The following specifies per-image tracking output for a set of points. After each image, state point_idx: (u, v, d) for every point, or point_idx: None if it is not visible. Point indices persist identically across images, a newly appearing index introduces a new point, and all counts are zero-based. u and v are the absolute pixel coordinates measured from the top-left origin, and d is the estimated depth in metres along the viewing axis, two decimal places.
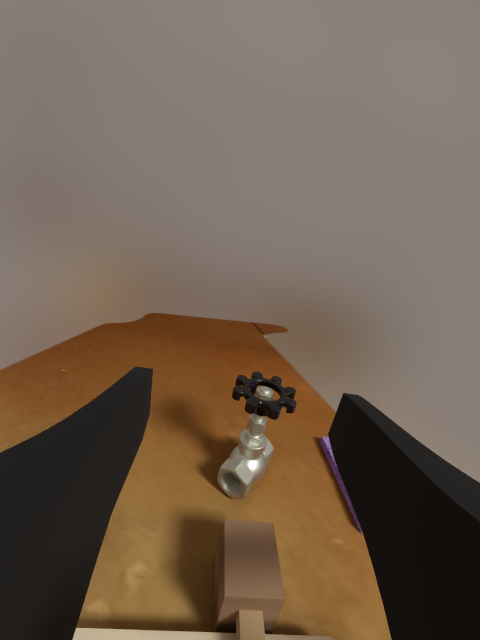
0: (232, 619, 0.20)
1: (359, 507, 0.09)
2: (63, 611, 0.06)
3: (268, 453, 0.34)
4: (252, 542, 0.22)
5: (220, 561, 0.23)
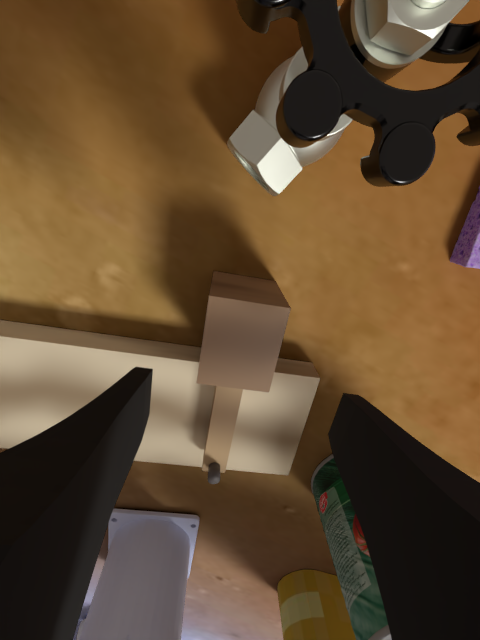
0: None
1: (359, 507, 0.09)
2: (63, 611, 0.06)
3: None
4: (247, 332, 0.15)
5: None
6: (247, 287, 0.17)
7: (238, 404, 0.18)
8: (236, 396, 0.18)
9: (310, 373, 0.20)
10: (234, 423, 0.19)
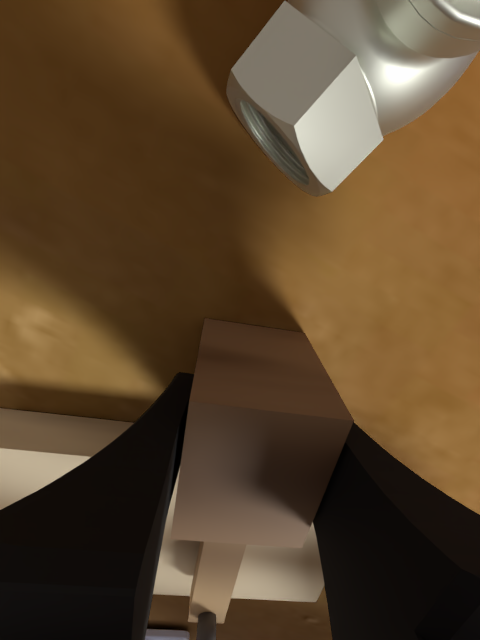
0: None
1: None
2: (146, 615, 0.06)
3: None
4: (266, 460, 0.08)
5: None
6: (263, 357, 0.09)
7: None
8: None
9: None
10: (238, 564, 0.12)
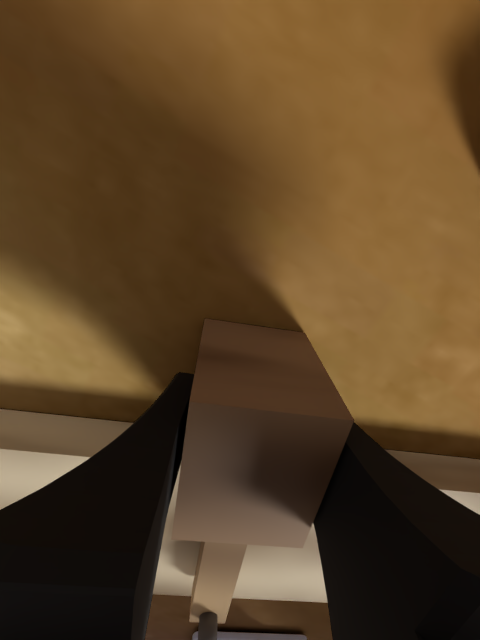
0: None
1: None
2: (145, 614, 0.06)
3: None
4: (267, 461, 0.08)
5: None
6: (263, 357, 0.09)
7: None
8: None
9: None
10: (239, 564, 0.12)
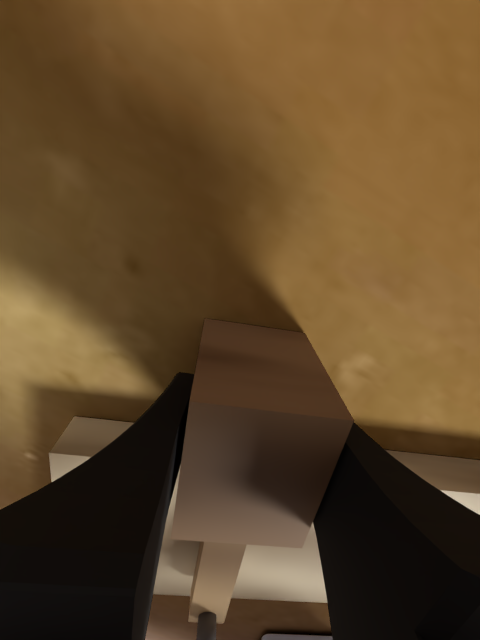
0: None
1: None
2: (146, 615, 0.06)
3: None
4: (267, 461, 0.08)
5: None
6: (263, 357, 0.09)
7: None
8: None
9: None
10: (238, 564, 0.12)
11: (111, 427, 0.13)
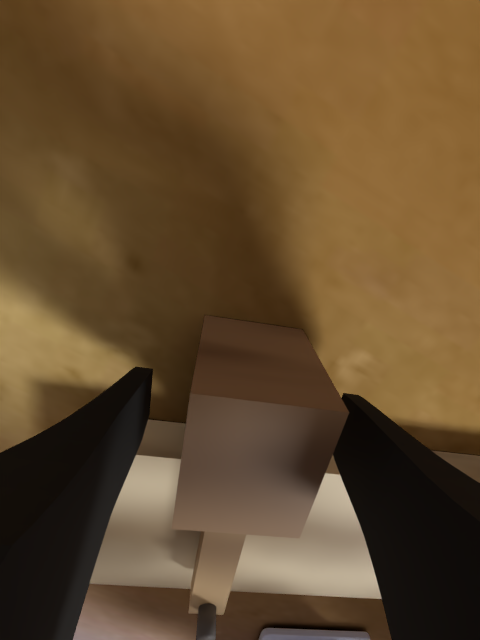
0: None
1: (359, 507, 0.09)
2: (63, 611, 0.06)
3: None
4: (265, 451, 0.08)
5: None
6: (262, 352, 0.10)
7: None
8: None
9: None
10: (238, 556, 0.12)
11: None
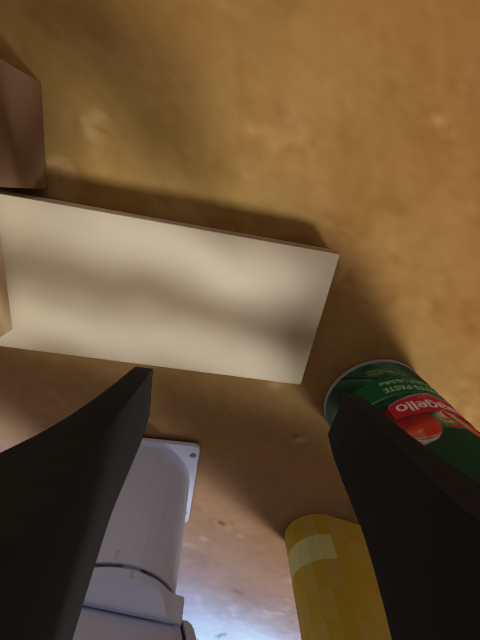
0: None
1: (359, 507, 0.09)
2: (63, 611, 0.06)
3: None
4: None
5: None
6: None
7: None
8: None
9: (328, 251, 0.17)
10: None
11: None
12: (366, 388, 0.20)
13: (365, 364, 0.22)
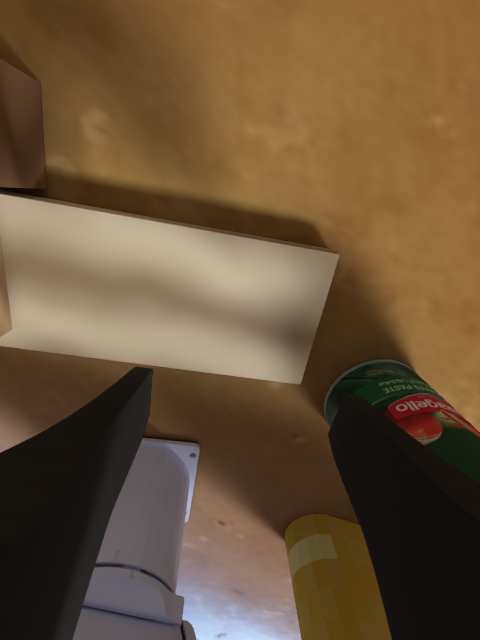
0: None
1: (359, 507, 0.09)
2: (63, 611, 0.06)
3: None
4: None
5: None
6: None
7: None
8: None
9: (328, 251, 0.17)
10: None
11: None
12: (366, 388, 0.20)
13: (365, 364, 0.22)
